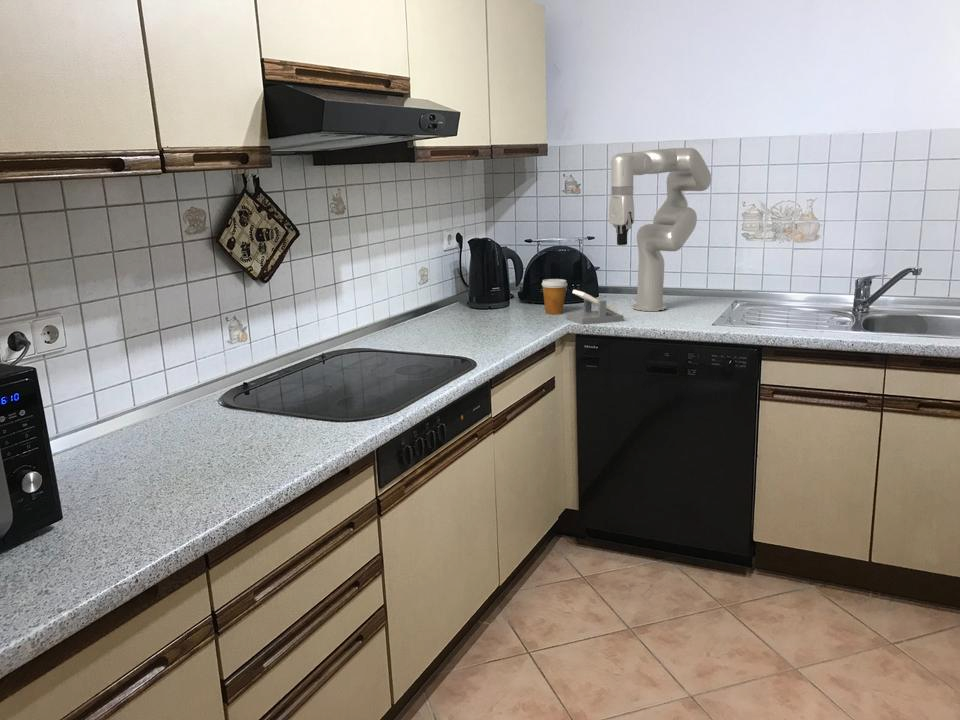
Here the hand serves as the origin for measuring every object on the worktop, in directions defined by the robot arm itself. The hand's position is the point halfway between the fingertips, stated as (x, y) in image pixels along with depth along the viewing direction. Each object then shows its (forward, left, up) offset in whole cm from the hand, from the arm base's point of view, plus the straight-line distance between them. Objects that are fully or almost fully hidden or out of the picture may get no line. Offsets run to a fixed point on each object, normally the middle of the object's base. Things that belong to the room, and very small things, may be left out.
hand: (622, 244), depth 275 cm
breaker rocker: (+3, -12, -19) cm, 23 cm away
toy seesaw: (+3, -12, -26) cm, 28 cm away
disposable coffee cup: (-15, -19, -26) cm, 35 cm away
